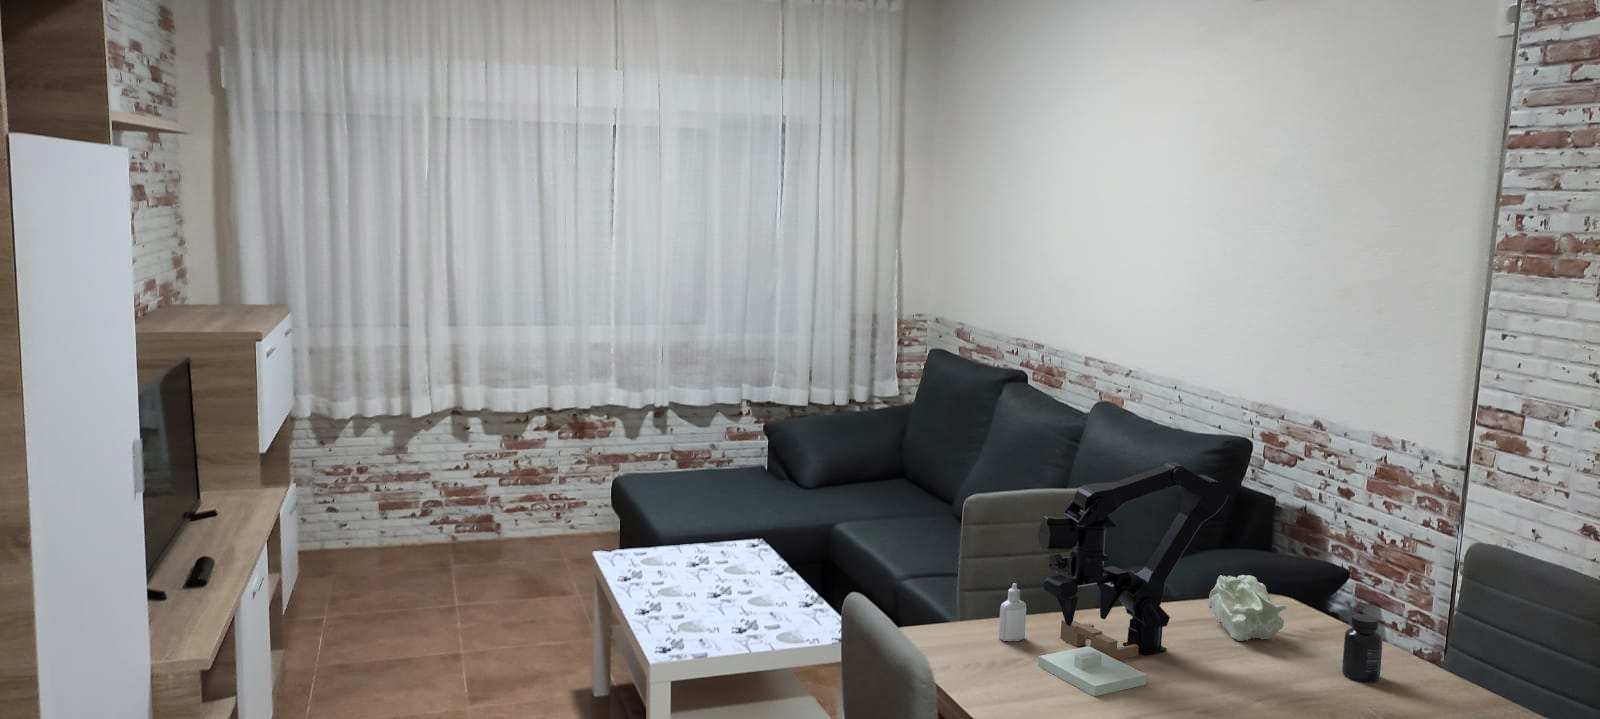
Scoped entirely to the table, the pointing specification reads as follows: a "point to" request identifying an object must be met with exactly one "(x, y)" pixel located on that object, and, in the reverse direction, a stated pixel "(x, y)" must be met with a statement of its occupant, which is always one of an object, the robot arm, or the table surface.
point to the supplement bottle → (1362, 649)
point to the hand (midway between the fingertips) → (1085, 622)
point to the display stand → (1092, 670)
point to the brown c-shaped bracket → (1095, 640)
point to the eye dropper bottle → (1012, 617)
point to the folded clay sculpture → (1245, 608)
